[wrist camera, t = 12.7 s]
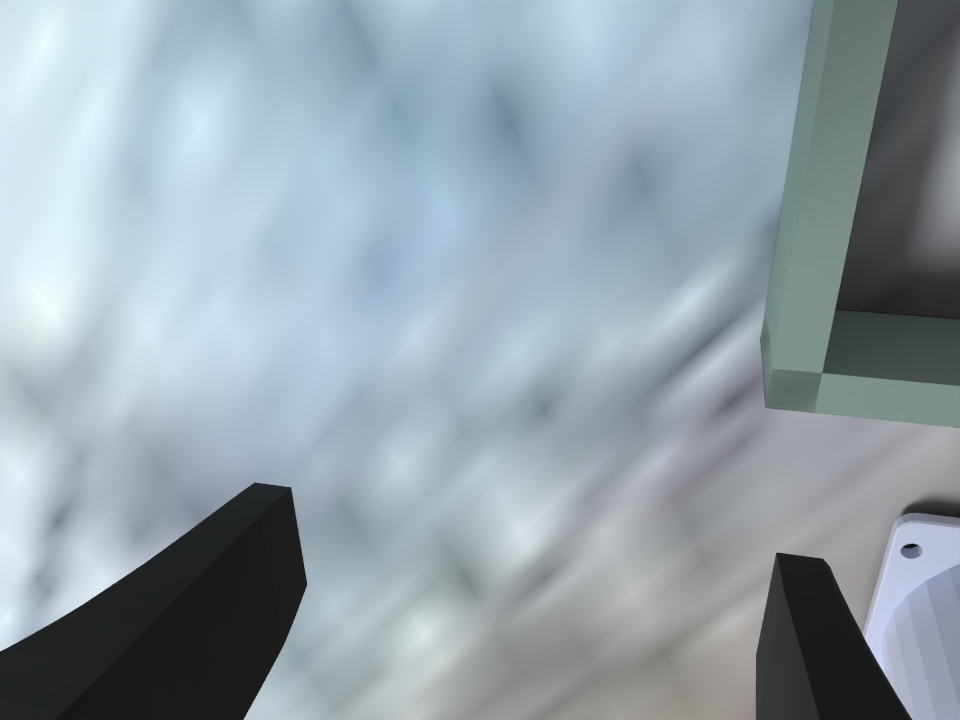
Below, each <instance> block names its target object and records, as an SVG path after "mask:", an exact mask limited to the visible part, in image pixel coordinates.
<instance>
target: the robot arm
mask: <svg viewBox="0 0 960 720" xmlns="http://www.w3.org/2000/svg"><path fill="white" fill-rule="evenodd" d="M912 543H914V544H917V545H918V546H916V547H914V548H907V549H906V548H904V547H903V546H904V545H906V544H912ZM306 587H307V580H306V574H305V568H304V562H303V556H302V550H301V544H300V538H299V532H298V526H297V520H296V514H295V508H294V502H293V496H292V490H291V487H284V486H276V485H269V484H261V483H254V484H252V485H251V486H249V487H248V488H246V489H245V490H244V491H242V492H241V493H239V494H238V495H237V496H235V497H234V498H233V499H231V500H230V501H229V502H227V503H226V504H225V505H223V506H222V507H221V508H219V509H218V510H217V511H215V512H214V513H213V514H211V515H210V516H209V517H207V518H206V519H205V520H203V521H202V522H201V523H199V524H198V525H197V526H195V527H194V528H193V529H191V530H190V531H189V532H187V533H186V534H184V535H183V536H182V537H180V538H179V539H178V540H176V541H175V542H173V543H172V544H171V545H169V546H168V547H167V548H165V549H164V550H162V551H161V552H160V553H158V554H157V555H156V556H154V557H153V558H151V559H150V560H149V561H147V562H146V563H144V564H143V565H142V566H140V567H139V568H137V569H136V570H134V571H133V572H131V573H130V574H128V575H127V576H125V577H124V578H122V579H121V580H119V581H118V582H116V583H115V584H113V585H112V586H110V587H109V588H107V589H106V590H104V591H103V592H101V593H100V594H98V595H97V596H95V597H94V598H92V599H91V600H89V601H88V602H86V603H85V604H83V605H81V606H80V607H78V608H76V609H75V610H73V611H72V612H70V613H68V614H67V615H65V616H63V617H62V618H60V619H58V620H57V621H55V622H53V623H51V624H50V625H48V626H46V627H44V628H43V629H41V630H39V631H37V632H35V633H34V634H32V635H30V636H28V637H27V638H25V639H23V640H21V641H19V642H18V643H16V644H14V645H12V646H10V647H8V648H6V649H4V650H2V651H0V720H244V718H245V716H246V714H247V712H248V710H249V709H250V707H251V705H252V703H253V701H254V700H255V698H256V696H257V694H258V692H259V690H260V689H261V687H262V685H263V683H264V681H265V679H266V677H267V676H268V674H269V672H270V670H271V668H272V666H273V664H274V663H275V661H276V659H277V657H278V655H279V653H280V651H281V649H282V647H283V645H284V643H285V641H286V639H287V636H288V634H289V631H290V629H291V626H292V624H293V621H294V619H295V616H296V613H297V611H298V608H299V605H300V603H301V600H302V597H303V595H304V592H305V589H306ZM756 720H960V518H956V517H947V516H939V515H931V514H923V513H908V514H905V515H902V516H901V517H899V518H898V519H896V521H895V523H894V524H893V527H892V530H891V534H890V538H889V541H888V545H887V548H886V552H885V555H884V559H883V563H882V566H881V570H880V573H879V577H878V580H877V584H876V587H875V591H874V595H873V598H872V602H871V605H870V609H869V612H868V616H867V620H866V623H865V627H864V630H863V634H862V633H861V631H860V629H859V627H858V625H857V623H856V621H855V619H854V617H853V615H852V613H851V611H850V609H849V607H848V605H847V603H846V601H845V599H844V597H843V595H842V593H841V591H840V589H839V586H838V584H837V582H836V580H835V578H834V575H833V573H832V571H831V568H830V566H829V565H828V564H827V563H826V562H825V561H824V559H821V558H813V557H806V556H798V555H791V554H783V553H776V557H775V562H774V568H773V573H772V578H771V583H770V588H769V593H768V598H767V603H766V608H765V613H764V618H763V623H762V629H761V634H760V639H759V644H758V649H757V654H756Z"/></svg>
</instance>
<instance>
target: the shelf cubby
mask: <svg viewBox="0 0 960 720" xmlns="http://www.w3.org/2000/svg"><path fill="white" fill-rule="evenodd" d="M897 3H898V0H814V6H813V12H812V19H811V25H810V31H809V37H808V44H807V50H806V56H805V63H804V69H803V75H802V81H801V88H800V94H799V100H798V107H797V113H796V119H795V126H794V132H793V138H792V144H791V151H790V157H789V163H788V170H787V176H786V182H785V189H784V195H783V201H782V207H781V214H780V220H779V226H778V233H777V239H776V245H775V252H774V258H773V264H772V270H771V277H770V283H769V289H768V296H767V302H766V308H765V315H764V321H763V327H762V333H761V340H760V342H761V355H762V368H763V381H764V394H765V408H772V409H781V410H791V411H801V412H810V413H820V414H830V415H840V416H849V417H859V418H869V419H879V420H888V421H898V422H908V423H917V424H927V425H937V426H947V427H956V428H960V320H958V319H946V318H933V317H921V316H908V315H896V314H883V313H871V312H858V311H846V310H835V307H836V303H837V298H838V293H839V288H840V283H841V278H842V273H843V268H844V263H845V258H846V254H847V249H848V244H849V239H850V234H851V229H852V224H853V219H854V214H855V209H856V204H857V200H858V195H859V190H860V185H861V180H862V175H863V170H864V165H865V160H866V155H867V151H868V146H869V141H870V136H871V131H872V126H873V121H874V116H875V111H876V106H877V101H878V97H879V92H880V87H881V82H882V77H883V72H884V67H885V62H886V57H887V52H888V48H889V43H890V38H891V33H892V28H893V23H894V18H895V13H896V8H897Z"/></svg>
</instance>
